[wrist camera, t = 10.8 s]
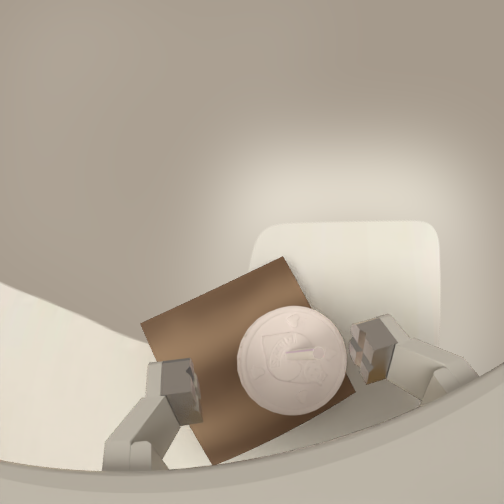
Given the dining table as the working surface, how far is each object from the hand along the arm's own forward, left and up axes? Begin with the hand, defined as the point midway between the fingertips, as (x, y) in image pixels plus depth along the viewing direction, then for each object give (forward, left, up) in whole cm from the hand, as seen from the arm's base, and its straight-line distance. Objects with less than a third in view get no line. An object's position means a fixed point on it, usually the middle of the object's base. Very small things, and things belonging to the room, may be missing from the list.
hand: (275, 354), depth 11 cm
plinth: (-1, 0, -20) cm, 20 cm away
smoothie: (-1, -1, -16) cm, 16 cm away
